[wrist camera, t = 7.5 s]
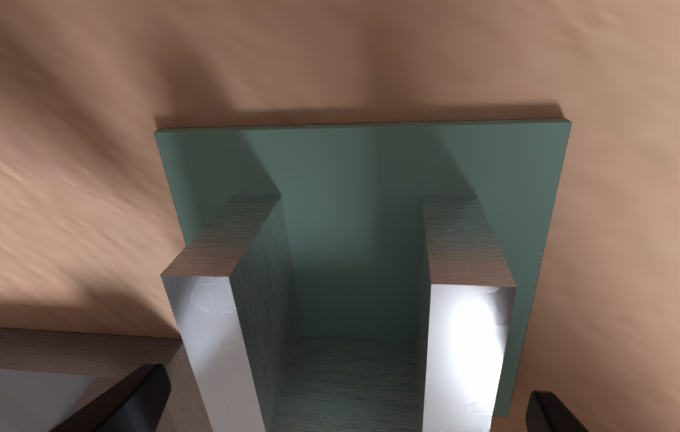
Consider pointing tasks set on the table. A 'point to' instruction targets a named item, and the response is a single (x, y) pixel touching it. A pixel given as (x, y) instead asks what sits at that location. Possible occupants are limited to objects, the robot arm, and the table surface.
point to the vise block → (87, 377)
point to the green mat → (377, 208)
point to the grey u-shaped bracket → (341, 352)
